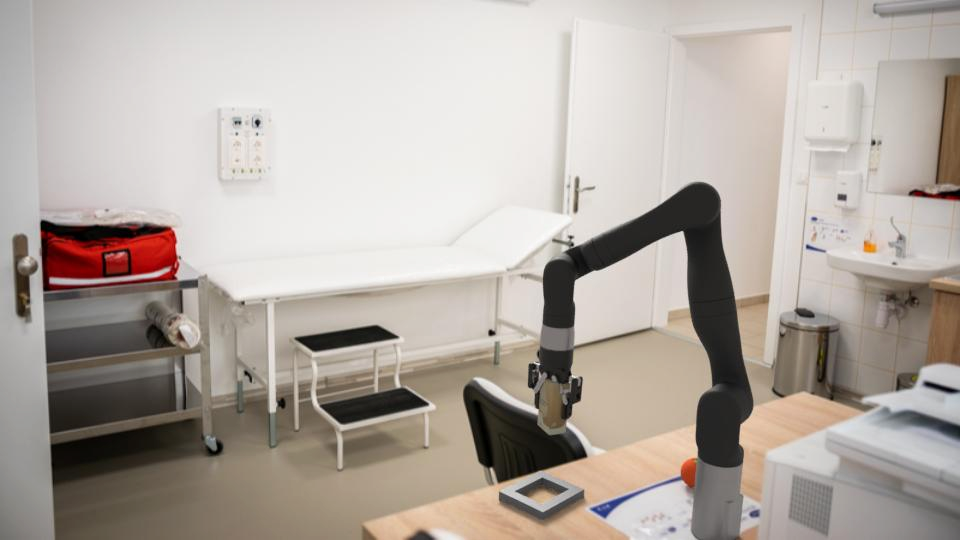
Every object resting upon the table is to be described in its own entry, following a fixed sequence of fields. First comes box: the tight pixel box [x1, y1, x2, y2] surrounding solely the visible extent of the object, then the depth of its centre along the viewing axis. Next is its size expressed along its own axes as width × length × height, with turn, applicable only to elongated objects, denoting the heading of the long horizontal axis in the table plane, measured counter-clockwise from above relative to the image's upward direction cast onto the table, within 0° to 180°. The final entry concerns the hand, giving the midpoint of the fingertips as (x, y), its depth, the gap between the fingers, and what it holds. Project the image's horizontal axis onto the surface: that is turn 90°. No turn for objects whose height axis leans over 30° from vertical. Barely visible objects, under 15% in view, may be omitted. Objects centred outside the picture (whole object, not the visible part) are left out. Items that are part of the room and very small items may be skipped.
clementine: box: [679, 457, 697, 489], centre depth 189 cm, size 8×7×7 cm
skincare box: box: [537, 378, 571, 436], centre depth 178 cm, size 6×4×12 cm
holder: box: [498, 470, 585, 521], centre depth 182 cm, size 13×15×2 cm
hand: (552, 413), depth 179 cm, fingers closed on skincare box, 7 cm apart
